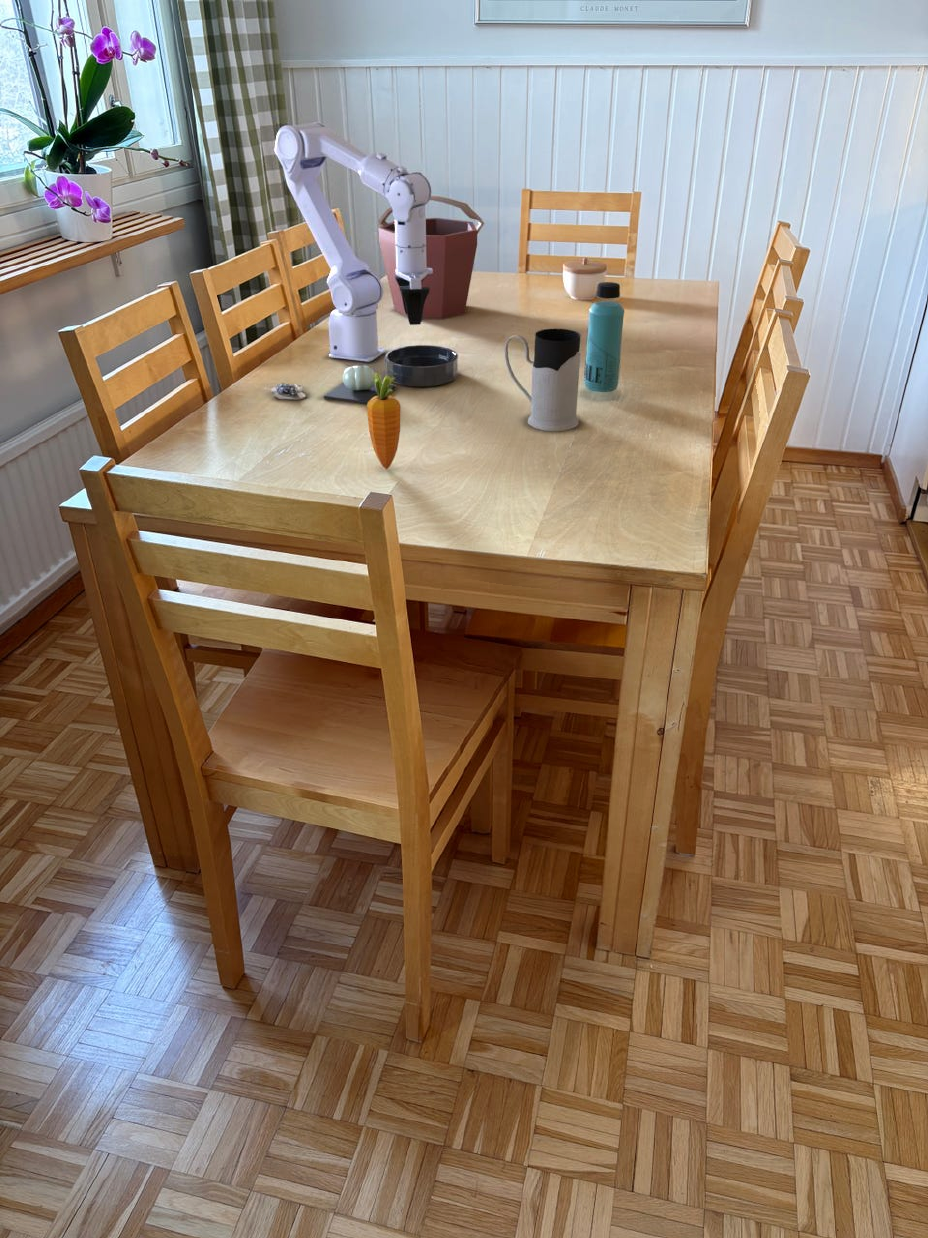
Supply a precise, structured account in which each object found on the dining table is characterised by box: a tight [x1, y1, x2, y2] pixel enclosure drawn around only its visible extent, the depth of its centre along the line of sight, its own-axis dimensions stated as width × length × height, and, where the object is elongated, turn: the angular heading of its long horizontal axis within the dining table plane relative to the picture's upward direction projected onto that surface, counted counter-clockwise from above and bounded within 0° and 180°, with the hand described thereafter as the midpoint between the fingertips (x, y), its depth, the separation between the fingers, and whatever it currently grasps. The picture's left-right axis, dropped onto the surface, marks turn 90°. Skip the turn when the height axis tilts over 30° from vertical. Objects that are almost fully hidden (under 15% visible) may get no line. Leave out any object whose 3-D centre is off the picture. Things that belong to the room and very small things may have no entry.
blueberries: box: [270, 382, 307, 401], centre depth 173 cm, size 7×8×2 cm
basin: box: [384, 344, 459, 388], centre depth 181 cm, size 14×14×4 cm
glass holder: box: [504, 328, 582, 432], centre depth 159 cm, size 9×14×15 cm, turn 58°
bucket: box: [378, 195, 485, 320], centre depth 217 cm, size 24×22×25 cm
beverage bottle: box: [583, 281, 625, 393], centre depth 168 cm, size 6×7×20 cm
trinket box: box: [562, 257, 608, 301], centre depth 232 cm, size 11×11×9 cm
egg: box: [342, 365, 376, 391], centre depth 173 cm, size 6×4×4 cm
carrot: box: [366, 372, 401, 470], centre depth 141 cm, size 5×5×15 cm
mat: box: [323, 381, 397, 405], centre depth 174 cm, size 10×10×1 cm
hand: (412, 318), depth 182 cm, fingers open, 7 cm apart
